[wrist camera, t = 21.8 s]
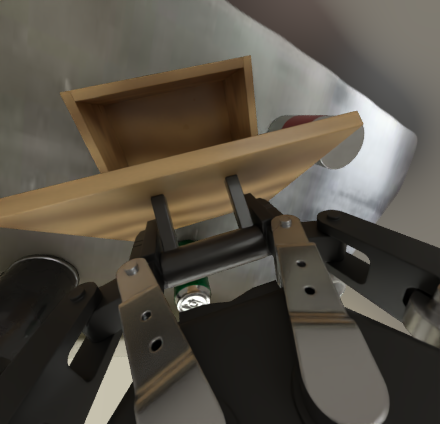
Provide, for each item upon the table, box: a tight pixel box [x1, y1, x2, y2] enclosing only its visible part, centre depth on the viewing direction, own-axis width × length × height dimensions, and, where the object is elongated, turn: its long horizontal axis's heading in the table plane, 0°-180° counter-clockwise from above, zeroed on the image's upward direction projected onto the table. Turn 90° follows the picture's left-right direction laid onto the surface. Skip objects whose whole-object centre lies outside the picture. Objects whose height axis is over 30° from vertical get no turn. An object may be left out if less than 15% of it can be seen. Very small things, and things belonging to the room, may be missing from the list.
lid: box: [0, 111, 363, 288], centre depth 15 cm, size 15×17×5 cm
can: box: [268, 115, 364, 169], centre depth 25 cm, size 5×5×12 cm
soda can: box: [174, 240, 211, 312], centre depth 31 cm, size 5×5×12 cm
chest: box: [60, 55, 258, 174], centre depth 24 cm, size 15×17×9 cm
